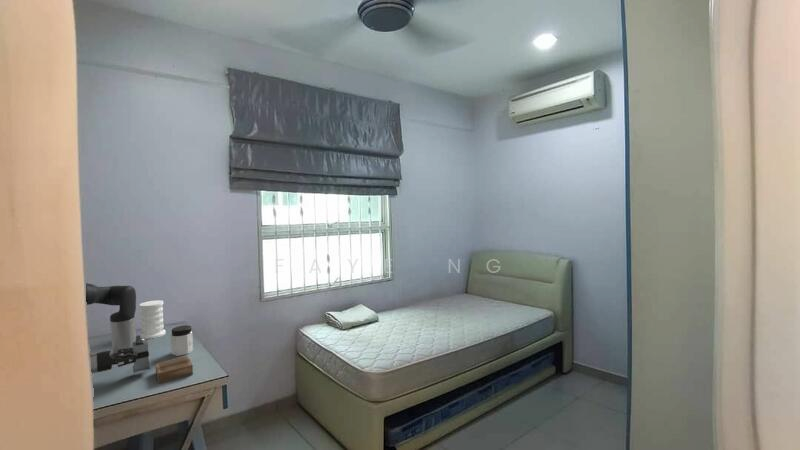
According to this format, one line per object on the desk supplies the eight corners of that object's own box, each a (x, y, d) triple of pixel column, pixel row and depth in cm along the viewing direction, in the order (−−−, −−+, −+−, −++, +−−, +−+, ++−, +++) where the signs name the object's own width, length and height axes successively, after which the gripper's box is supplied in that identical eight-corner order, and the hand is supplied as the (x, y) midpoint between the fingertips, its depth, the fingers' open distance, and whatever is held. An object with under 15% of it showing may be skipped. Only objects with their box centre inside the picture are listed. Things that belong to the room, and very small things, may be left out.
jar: (185, 356, 169) (184, 331, 168) (168, 356, 169) (167, 331, 168) (196, 348, 178) (195, 324, 177) (179, 348, 178) (178, 325, 177)
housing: (132, 367, 152) (131, 339, 151) (148, 364, 155) (147, 335, 154) (133, 372, 147) (131, 343, 146) (150, 368, 151) (148, 339, 150)
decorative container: (167, 330, 204) (165, 299, 203) (163, 337, 194) (162, 304, 193) (142, 333, 199) (141, 301, 198) (138, 340, 189) (136, 307, 188)
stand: (155, 372, 153) (155, 363, 152) (188, 364, 160) (187, 355, 160) (158, 383, 143) (158, 373, 143) (192, 374, 151) (192, 365, 151)
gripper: (94, 360, 136) (149, 348, 147) (96, 347, 147) (146, 337, 158) (96, 379, 137) (150, 366, 147) (97, 365, 148) (147, 354, 158)
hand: (148, 351), depth 152 cm, fingers closed on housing, 5 cm apart
